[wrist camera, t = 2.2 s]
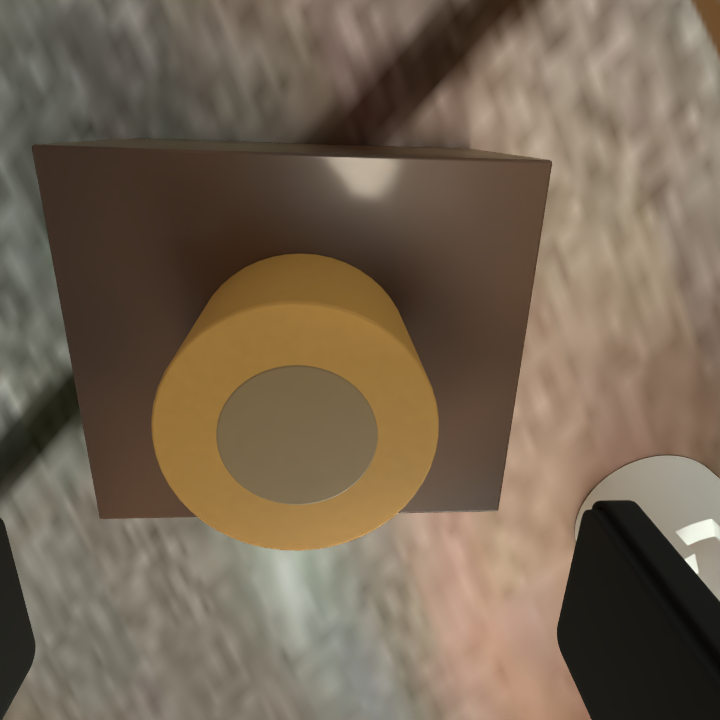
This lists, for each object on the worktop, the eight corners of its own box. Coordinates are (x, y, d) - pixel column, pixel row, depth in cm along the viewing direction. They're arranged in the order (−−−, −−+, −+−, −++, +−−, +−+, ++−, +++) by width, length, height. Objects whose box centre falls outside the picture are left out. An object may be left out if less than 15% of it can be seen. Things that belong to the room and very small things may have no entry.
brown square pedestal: (165, 400, 27) (98, 519, 19) (135, 137, 23) (29, 144, 14) (445, 399, 28) (498, 512, 20) (471, 148, 24) (553, 160, 15)
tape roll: (202, 451, 18) (166, 555, 14) (185, 250, 16) (132, 299, 11) (402, 449, 19) (427, 549, 14) (415, 254, 16) (452, 302, 12)
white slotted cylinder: (559, 489, 31) (618, 579, 25) (711, 433, 30) (811, 510, 24) (628, 705, 39) (687, 815, 33) (751, 664, 38) (835, 768, 32)
